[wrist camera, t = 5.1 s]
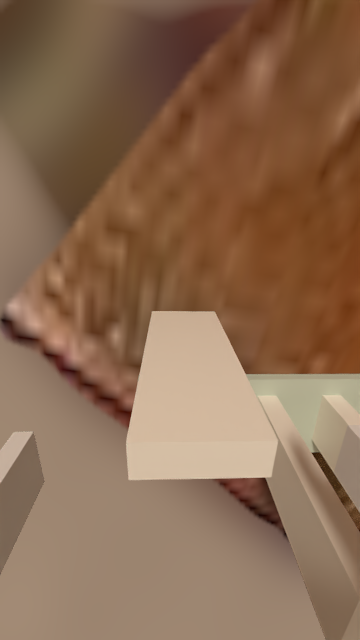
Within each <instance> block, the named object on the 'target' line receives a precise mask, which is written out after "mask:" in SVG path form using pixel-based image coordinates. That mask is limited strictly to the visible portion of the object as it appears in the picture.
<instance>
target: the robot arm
mask: <svg viewBox="0 0 360 640" xmlns="http://www.w3.org/2000/svg"><path fill="white" fill-rule="evenodd" d="M334 474H335V475H336V477H337V478H338V480H339V481H340V483H341V484H342V486H343V487H344V489H345V490H346V492H347V493H348V495H349V496H350V498H351V499H352V501H353V502H354V504H355V505H356V507H357V508H358V510H359V511H360V425H348V426H347V429H346V433H345V436H344V439H343V443H342V446H341V450H340V453H339V456H338V460H337V463H336V467H335V470H334ZM43 483H44V477H43V473H42V468H41V464H40V459H39V454H38V450H37V445H36V441H35V436H34V432H14V433H13V434H12V436H11V437H10V438H9V440H8V441H7V442H6V444H5V445H4V446H3V448H2V449H1V450H0V574H1V572H2V570H3V568H4V565H5V563H6V561H7V559H8V557H9V555H10V553H11V551H12V549H13V546H14V544H15V542H16V540H17V538H18V536H19V534H20V532H21V530H22V527H23V525H24V523H25V521H26V519H27V517H28V515H29V513H30V511H31V509H32V506H33V504H34V502H35V500H36V498H37V496H38V494H39V492H40V489H41V487H42V485H43Z"/></svg>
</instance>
